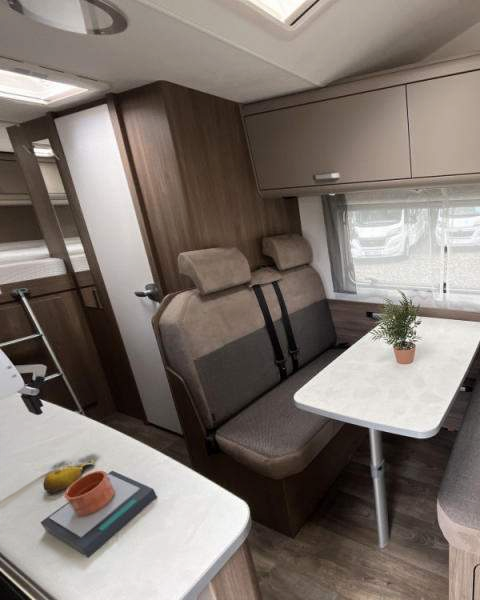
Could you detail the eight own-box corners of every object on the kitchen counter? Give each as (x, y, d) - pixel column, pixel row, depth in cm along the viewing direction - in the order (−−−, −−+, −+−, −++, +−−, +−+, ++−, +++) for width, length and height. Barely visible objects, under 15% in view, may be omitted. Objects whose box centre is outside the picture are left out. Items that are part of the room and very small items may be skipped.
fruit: (99, 458, 76) (93, 447, 75) (81, 487, 69) (74, 475, 68) (55, 470, 74) (48, 459, 72) (32, 502, 66) (24, 489, 65)
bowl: (68, 511, 61) (57, 493, 59) (104, 484, 66) (95, 467, 64) (86, 521, 59) (75, 503, 57) (122, 493, 64) (113, 475, 62)
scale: (46, 530, 60) (38, 520, 59) (116, 478, 71) (111, 469, 70) (88, 557, 56) (81, 547, 55) (157, 497, 66) (152, 487, 65)
